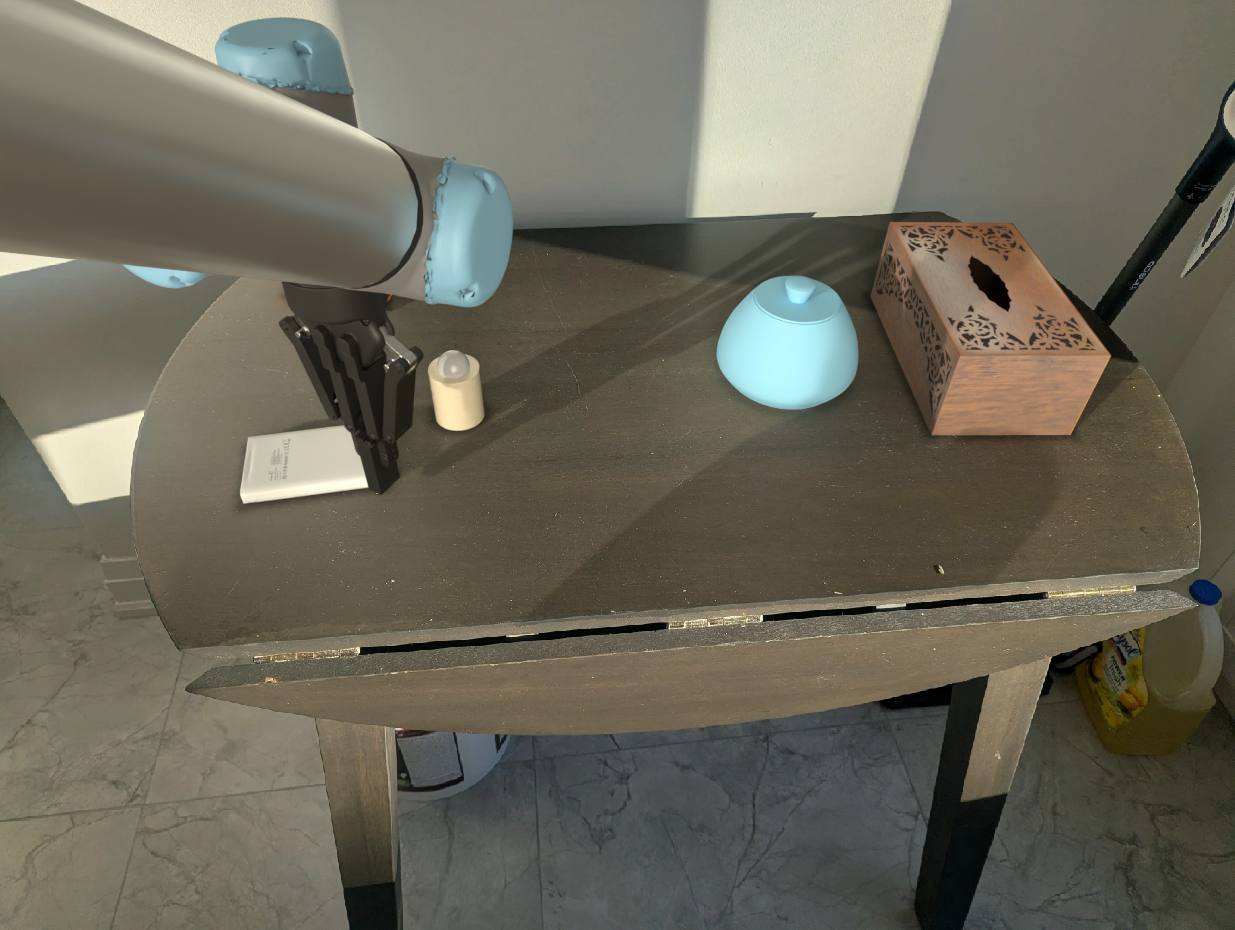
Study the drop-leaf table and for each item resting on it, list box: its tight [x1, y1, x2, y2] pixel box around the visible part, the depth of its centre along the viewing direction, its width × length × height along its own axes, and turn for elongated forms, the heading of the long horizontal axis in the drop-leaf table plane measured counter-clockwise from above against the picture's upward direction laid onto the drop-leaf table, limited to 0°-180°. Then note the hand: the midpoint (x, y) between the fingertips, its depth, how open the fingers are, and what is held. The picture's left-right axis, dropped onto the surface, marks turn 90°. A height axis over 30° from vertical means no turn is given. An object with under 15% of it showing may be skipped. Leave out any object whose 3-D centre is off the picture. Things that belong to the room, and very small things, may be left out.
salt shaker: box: [427, 349, 486, 432], centre depth 86 cm, size 5×5×8 cm
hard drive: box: [239, 424, 369, 505], centre depth 82 cm, size 2×8×12 cm
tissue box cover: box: [869, 221, 1112, 436], centre depth 94 cm, size 26×14×10 cm, turn 2°
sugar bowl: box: [715, 275, 860, 411], centre depth 90 cm, size 15×15×12 cm
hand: (384, 483), depth 79 cm, fingers closed
